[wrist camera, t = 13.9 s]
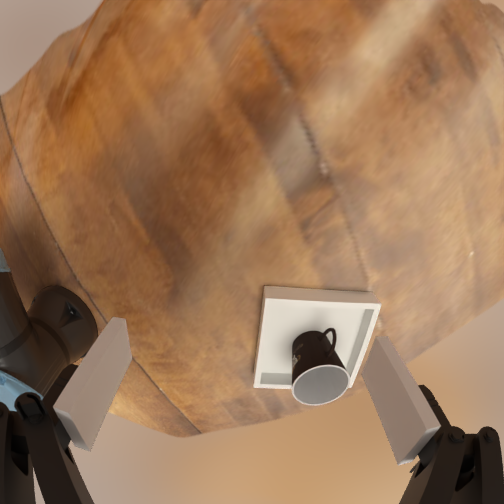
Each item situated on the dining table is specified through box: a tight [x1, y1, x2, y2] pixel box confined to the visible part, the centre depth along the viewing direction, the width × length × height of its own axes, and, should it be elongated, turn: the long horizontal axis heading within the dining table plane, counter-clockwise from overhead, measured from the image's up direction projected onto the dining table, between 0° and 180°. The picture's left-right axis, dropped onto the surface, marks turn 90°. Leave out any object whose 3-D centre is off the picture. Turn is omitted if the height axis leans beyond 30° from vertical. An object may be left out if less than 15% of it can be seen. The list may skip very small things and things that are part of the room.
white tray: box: [253, 285, 381, 389], centre depth 46 cm, size 18×18×4 cm
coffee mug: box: [292, 328, 350, 405], centre depth 42 cm, size 12×9×10 cm
